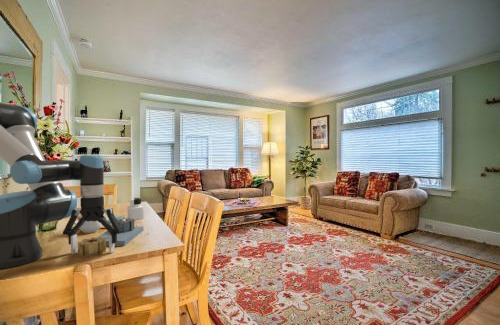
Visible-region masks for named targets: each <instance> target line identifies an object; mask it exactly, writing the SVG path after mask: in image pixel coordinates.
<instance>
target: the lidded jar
mask: <svg viewBox="0 0 500 325" xmlns="http://www.w3.org/2000/svg"><path fill="white" fill-rule="evenodd" d="M81 218H82V215H81V214H79V215H78V217H77V219H76V220H77V223H78V222H79V220H80V219H81ZM102 226H103V225H102V224H101V223H100V222H98V221H89V222H87V221H85V222H84V224H83V225H82V226H81V227H80V228H79V231H82V232H83V233H84V234H92V233H96V232H98V231H99V230H100V229H101V227H102Z"/></svg>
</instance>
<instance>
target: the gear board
mask: <svg viewBox="0 0 500 325" xmlns="http://www.w3.org/2000/svg"><path fill="white" fill-rule="evenodd" d="M121 219H122V221H126V220H125V219H126V218H121ZM143 231H144V226H143V225H142V226H140V225H139V226H134V229H133V231H127V232H125V233H124V232H120V233H118V234H117V242H116V243H115V247H125V246H127V244H129V243H130V242H132V240H134V239H135V238H136V237H137V236H139V235H140V234H141V233H142V232H143ZM109 235H111V234H110V233H109V232H108V230H106V231H104V232H103V233H101V234H99V235H98V236H95V237H96V238H100V237H104V239H106V247H109Z"/></svg>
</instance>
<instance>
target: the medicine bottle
mask: <svg viewBox="0 0 500 325" xmlns="http://www.w3.org/2000/svg"><path fill="white" fill-rule="evenodd" d="M144 210H145V209H144V206H142V199H141V198H140V197H133V198H130V199H129V206H127V211H126V212H127V213H126V214H127V218H131V219H134V221H139V220H143V219H144V216H145V215H144V214H145V213H144Z"/></svg>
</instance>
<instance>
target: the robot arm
mask: <svg viewBox="0 0 500 325" xmlns="http://www.w3.org/2000/svg"><path fill="white" fill-rule="evenodd" d="M37 129H38V118H37V115H36V114H35V113H34V111H33V110H32V109H30V108H28V107H25V106H22V105H18V104H8V103H2V102H0V158H1V160H2V161H4V162H5V163H7V164H8V166H10V177H11V179H12V181H13V182H15V183H16V184H18V185H25V184H27V186H28V188H29V190H20V191H14V192H13V191H12V192H9V193H8V192H7V193H4V194H0V270H1V268H2V269H9V268H13V267H14V268H15V267H19V266H23V265H26V264H29V263H32V262H35V261H37V260H38V259H40V258H41V257H42V256H43V247H41V243H40V242H39V239H38V237H37V232H36V230H37V227H36V226H38V225H44V224H47V223H52V222H56V221H61V220H63V219H67V218H69V219H68V221H67V223H66V224H65V226H64V229H63V231H62V235H65V236H67V237H68V244H69V246H70V254H71V255H74V254H75V253H78V234H77V232H78V231H79V230H80V227H81V226H82V225H83V224H84V222H85V221H87V222H89V221H98V222H100V223H101V224H102V226H103V227H104V228H105V230H106V231H108V232H109V233H110V234H111V235H109V246H108V249H109V250H108V251H109V252H108V253H109V254H112V253H113V252H114V251H116V250H115V247H116V246H115V243H116V242H117V234H118V233H120V232H121V231H122V229H121V227H120V225H119V223H118V221H117V220H118V219H117V217H116V216H115V214H114V210H113V209H114V208H112V207H110V208H107V209H106V208H105V207H104V206H105V196H103V195H104V194H105V191H104V190H105V188H104V182H105V181H104V167H105V164H104V158H103V156H102V155H99V154H89V155H88V154H85V155H84V154H83V155H82V154H81V155H80V157H79V160H70V159H63V160H46V158H45V156H44V154H43V152H42V150H41V148H40V147H39V144H38V143H37V140H36V139H35V137H34V135H35V134H36V130H37ZM62 181H80V184H79V187H80V188H79V189H80V190H79V191H80V196H81V197H80V201H79V202H80V209H79V208H77V206H78V198H77V195H76V193H75V191H73V190H71V189H66V188H65V186H64V185H63V184H64V183H62ZM104 214H105V215H106V216H107V217H106V216H105V215H104ZM80 215H82V218H81V219H80V220H79V222H78V221H77V220H78V219H77V217H78V216H80ZM107 218H108V220H107ZM76 221H77V223H76ZM75 223H76V224H75Z"/></svg>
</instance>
